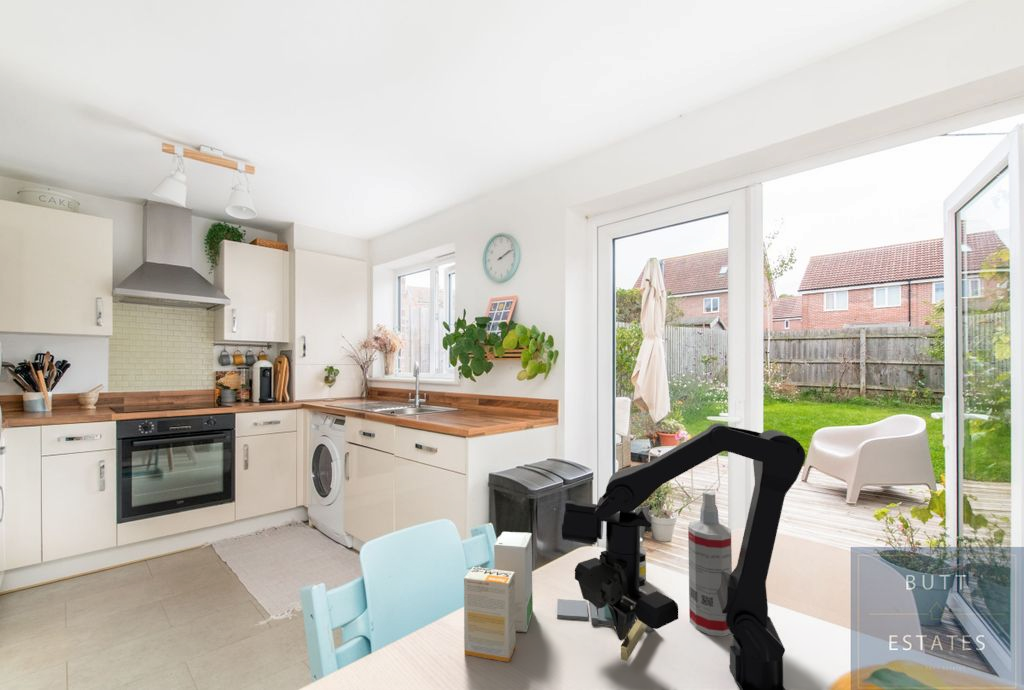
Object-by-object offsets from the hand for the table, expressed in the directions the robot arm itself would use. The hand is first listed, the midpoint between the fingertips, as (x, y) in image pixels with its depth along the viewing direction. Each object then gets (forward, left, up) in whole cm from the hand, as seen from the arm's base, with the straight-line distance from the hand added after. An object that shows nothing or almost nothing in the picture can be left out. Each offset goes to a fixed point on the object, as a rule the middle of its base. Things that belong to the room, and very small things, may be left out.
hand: (621, 639), depth 77 cm
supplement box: (+23, +1, -3) cm, 23 cm away
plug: (0, -12, -3) cm, 12 cm away
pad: (+8, -13, -3) cm, 16 cm away
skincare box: (+20, -9, -3) cm, 22 cm away
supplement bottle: (-6, -28, -3) cm, 29 cm away
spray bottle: (-18, -12, -3) cm, 22 cm away
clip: (-3, -3, -1) cm, 5 cm away
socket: (0, -12, -3) cm, 12 cm away
